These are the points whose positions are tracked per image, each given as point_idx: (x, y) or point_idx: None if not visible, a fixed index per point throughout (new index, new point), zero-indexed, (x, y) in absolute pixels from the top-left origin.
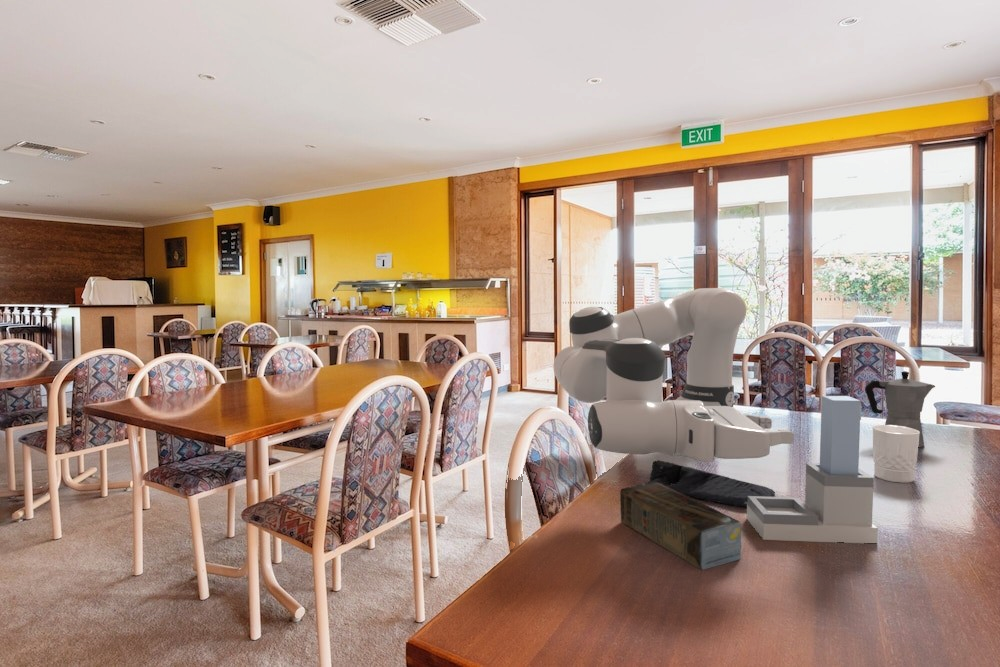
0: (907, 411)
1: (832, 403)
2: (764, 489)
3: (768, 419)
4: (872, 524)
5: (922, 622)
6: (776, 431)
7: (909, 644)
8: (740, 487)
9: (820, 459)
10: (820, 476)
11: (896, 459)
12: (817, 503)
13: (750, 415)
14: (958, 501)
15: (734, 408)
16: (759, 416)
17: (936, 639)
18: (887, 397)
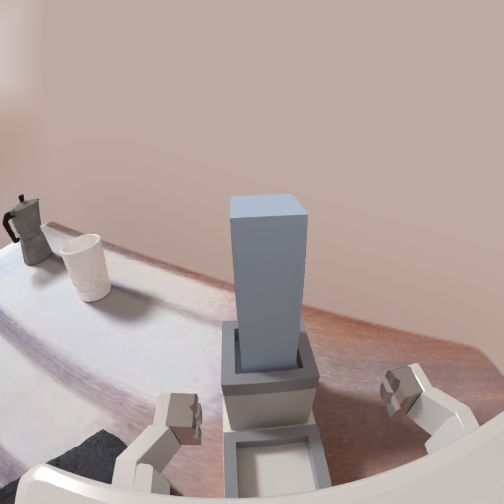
0: (35, 228)
1: (304, 223)
2: (120, 451)
3: (194, 402)
4: None
5: (462, 374)
6: (443, 398)
7: (495, 383)
8: None
9: (244, 358)
10: (299, 382)
11: (100, 273)
12: (285, 413)
13: (146, 450)
14: (164, 278)
15: (71, 479)
16: (157, 420)
17: (479, 369)
18: (18, 223)
